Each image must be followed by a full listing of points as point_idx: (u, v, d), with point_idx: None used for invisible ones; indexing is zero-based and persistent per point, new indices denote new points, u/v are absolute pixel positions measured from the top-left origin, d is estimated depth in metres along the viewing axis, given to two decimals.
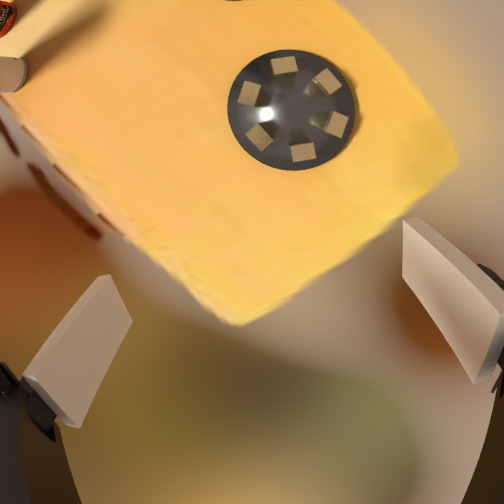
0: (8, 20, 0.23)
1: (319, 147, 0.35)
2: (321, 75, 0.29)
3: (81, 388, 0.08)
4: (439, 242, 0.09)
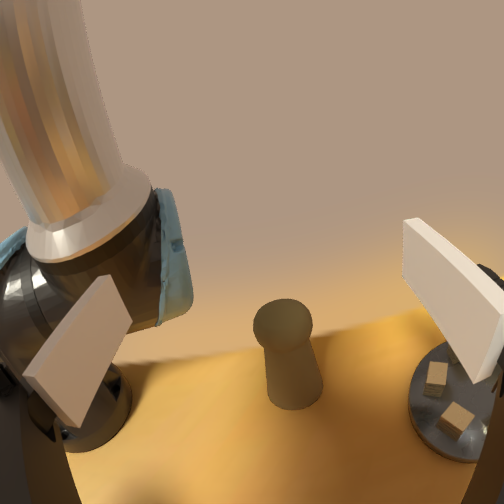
0: None
1: None
2: None
3: (81, 388, 0.08)
4: (439, 242, 0.09)
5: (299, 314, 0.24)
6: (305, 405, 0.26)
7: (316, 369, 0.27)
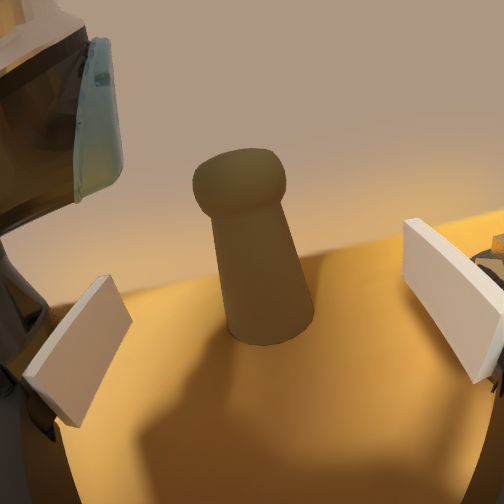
0: None
1: None
2: None
3: (81, 388, 0.08)
4: (439, 242, 0.09)
5: (261, 151, 0.15)
6: (285, 336, 0.17)
7: (300, 271, 0.18)
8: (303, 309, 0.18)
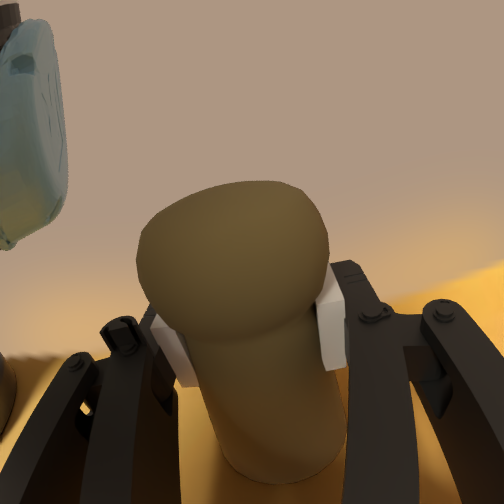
0: None
1: None
2: None
3: None
4: None
5: (280, 195, 0.07)
6: (305, 475, 0.09)
7: (336, 392, 0.10)
8: (335, 439, 0.10)
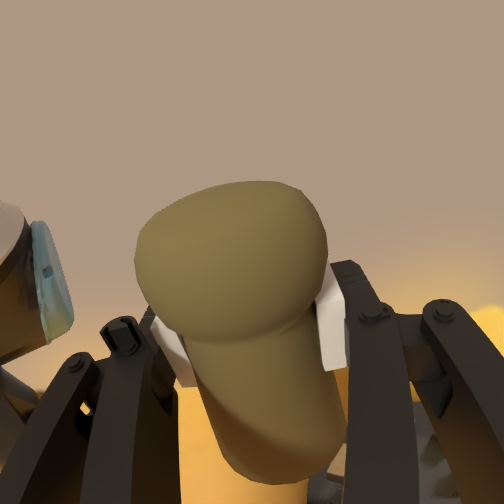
0: None
1: None
2: None
3: None
4: None
5: (279, 196, 0.07)
6: (304, 476, 0.09)
7: (335, 393, 0.10)
8: (334, 440, 0.10)
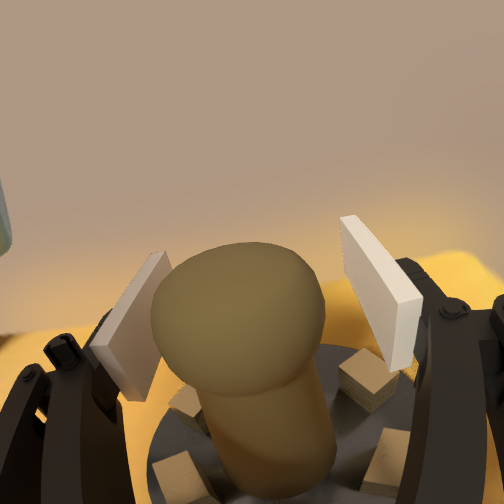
0: None
1: None
2: None
3: (146, 360, 0.10)
4: (364, 237, 0.10)
5: (284, 274, 0.07)
6: (298, 492, 0.10)
7: (327, 423, 0.10)
8: (325, 462, 0.10)
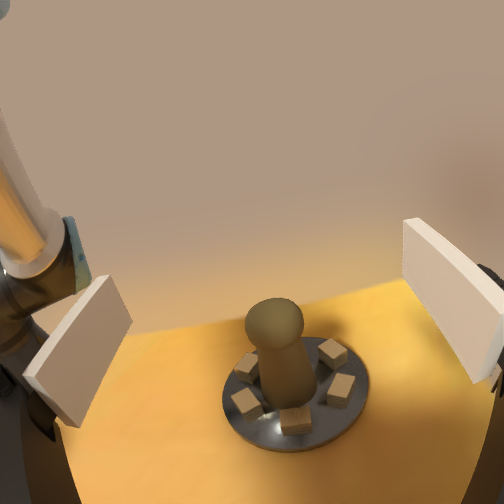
0: None
1: None
2: None
3: (81, 388, 0.08)
4: (439, 242, 0.09)
5: (290, 312, 0.24)
6: (299, 405, 0.26)
7: (309, 368, 0.27)
8: (310, 389, 0.27)
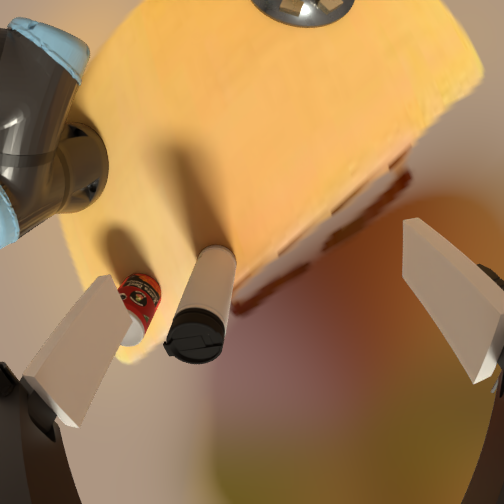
0: (144, 280, 0.47)
1: None
2: None
3: (81, 388, 0.08)
4: (439, 242, 0.09)
5: None
6: None
7: None
8: None
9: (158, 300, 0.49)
